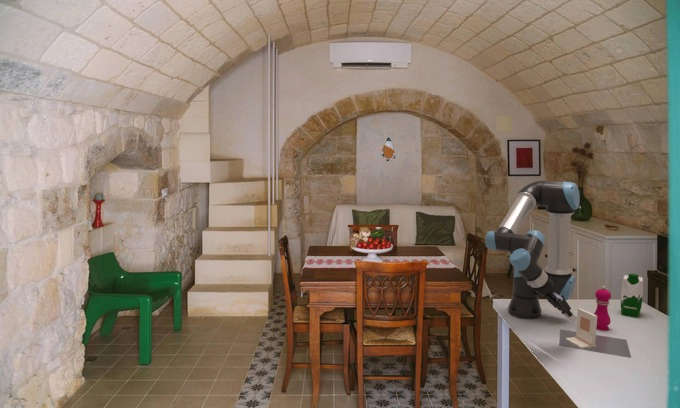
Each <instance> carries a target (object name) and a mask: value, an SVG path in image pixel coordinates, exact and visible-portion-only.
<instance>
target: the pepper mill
mask: <svg viewBox="0 0 680 408" xmlns="http://www.w3.org/2000/svg"><path fill="white" fill-rule="evenodd" d="M594 295H595V297H596V301H595V303H596V308H595V311H594V313H593V314H594V315H596V316H597V326H596V331H597V330H598V331H609V330H610V329H609V328H610V327H609V326H610V324H611V323H612V322H611V317H610V314H609V312H608V311H609V310H608V306H609V305H610V300H611V298H612V295H611V291H609V290H608V289H607V287H606V286H605V285H602V286H601V288H599V289H597V290H596V291H595V294H594Z"/></svg>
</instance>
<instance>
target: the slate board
mask: <svg viewBox="0 0 680 408" xmlns="http://www.w3.org/2000/svg"><path fill="white" fill-rule="evenodd" d="M571 337H576V331H574V330H566V329H562V328H561V329H559V344H558V345H559V347H565V348H571V349H576V350H582V351H588V352H593V353H599V354H605V355H612V356H617V357H623V358H629V359H632V355H631V351H630V348H629V344H628V340H627V339H624V338H617V337H612V336H605V335H599V334H596V340H595V345H596V347H594V348H585V349H580V348H578V347H577V346H575V345H573V344H571V343H570V342H568V341H566V340H565V338H571Z"/></svg>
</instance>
